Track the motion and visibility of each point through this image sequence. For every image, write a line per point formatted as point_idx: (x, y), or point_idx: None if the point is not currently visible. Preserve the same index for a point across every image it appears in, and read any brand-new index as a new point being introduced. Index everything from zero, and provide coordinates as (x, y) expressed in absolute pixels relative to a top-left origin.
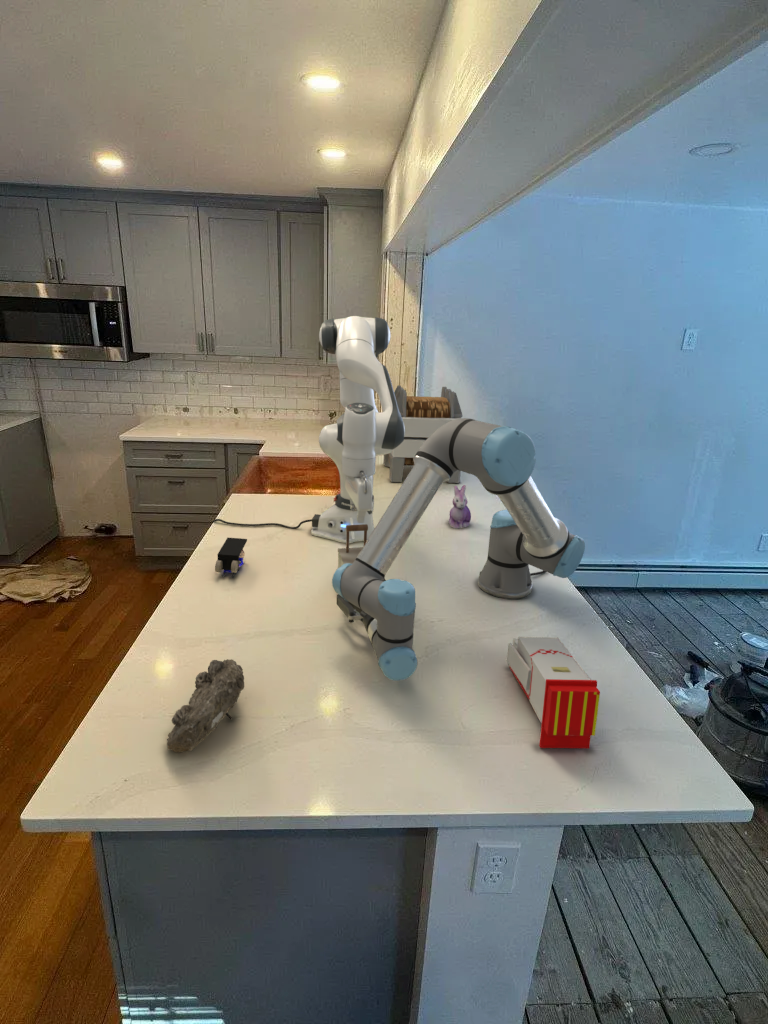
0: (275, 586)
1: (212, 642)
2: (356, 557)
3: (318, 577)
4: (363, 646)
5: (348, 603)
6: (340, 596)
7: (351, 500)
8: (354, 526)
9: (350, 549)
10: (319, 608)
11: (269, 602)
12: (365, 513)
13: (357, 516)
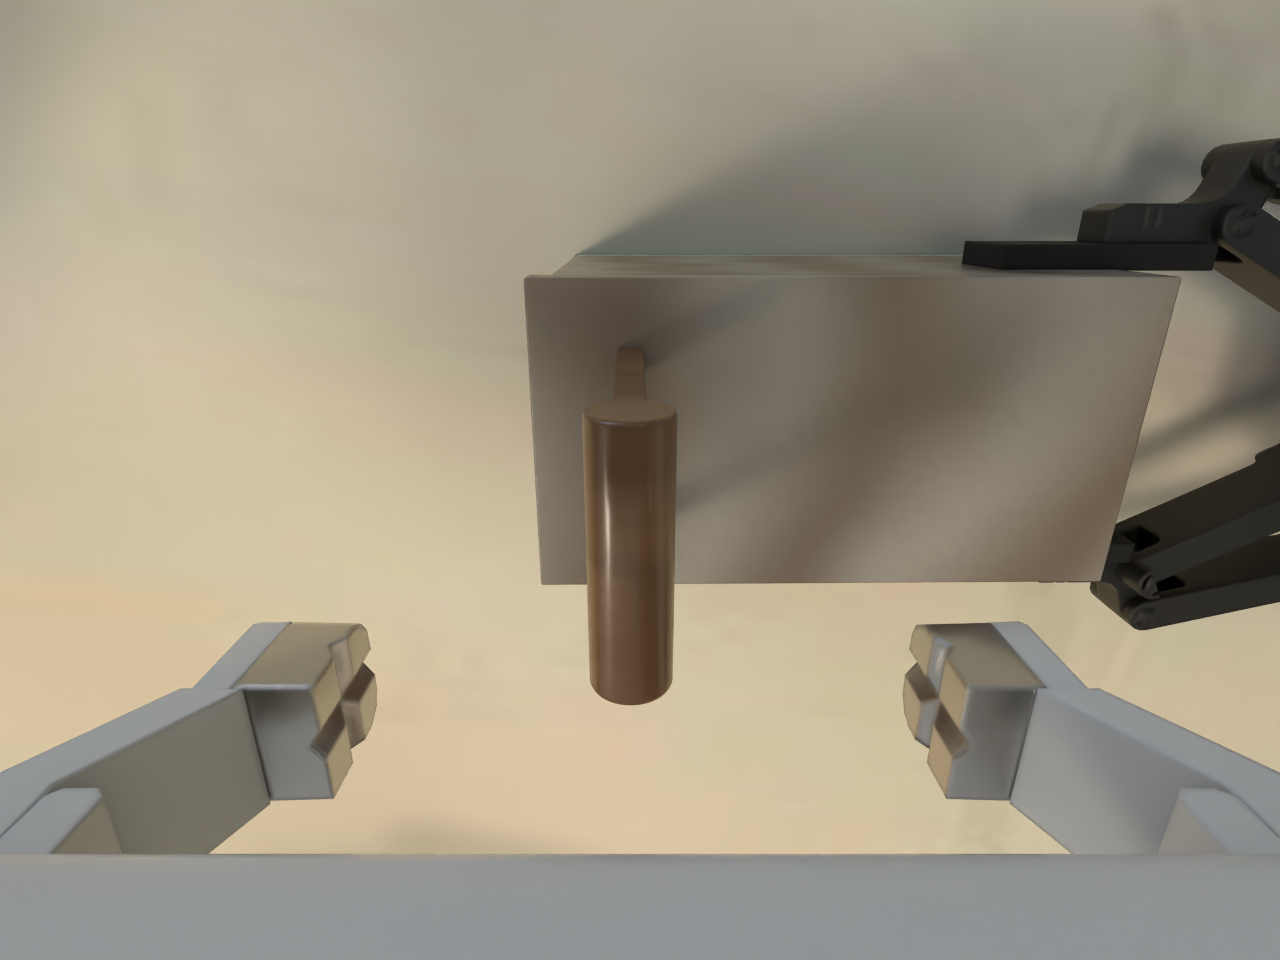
0: (563, 762)
1: None
2: (761, 463)
3: (475, 559)
4: (1271, 440)
5: (1273, 579)
6: (1165, 612)
7: (180, 852)
8: (657, 606)
9: (573, 485)
10: (839, 592)
11: (724, 789)
12: (1217, 750)
13: (1004, 793)
